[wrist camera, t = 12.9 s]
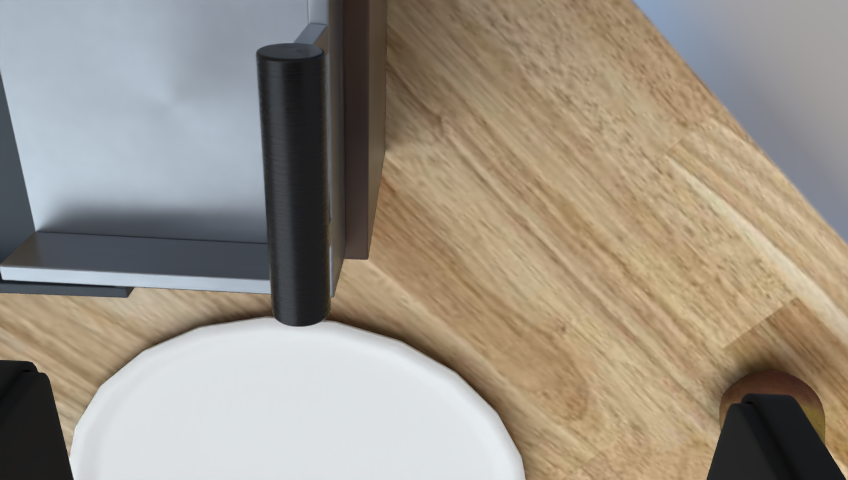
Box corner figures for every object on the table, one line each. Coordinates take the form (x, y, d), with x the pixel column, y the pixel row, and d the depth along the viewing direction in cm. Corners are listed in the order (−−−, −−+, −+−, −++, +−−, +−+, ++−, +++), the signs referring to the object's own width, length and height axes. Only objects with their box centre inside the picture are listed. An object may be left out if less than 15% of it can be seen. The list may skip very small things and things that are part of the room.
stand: (109, -120, 33) (-29, -104, 23) (389, -108, 33) (370, -86, 23) (146, 144, 38) (47, 247, 28) (385, 154, 38) (368, 260, 29)
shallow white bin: (45, 238, 28) (-88, 365, 21) (-26, -89, 23) (-231, -60, 16) (359, 254, 28) (327, 389, 21) (359, -71, 23) (317, -34, 16)
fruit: (685, 392, 45) (762, 562, 34) (767, 335, 43) (876, 496, 32) (740, 442, 47) (830, 619, 36) (821, 390, 45) (942, 560, 34)
